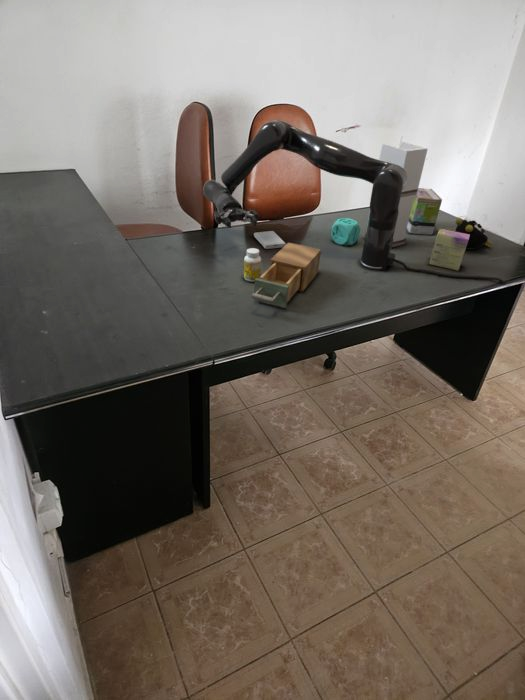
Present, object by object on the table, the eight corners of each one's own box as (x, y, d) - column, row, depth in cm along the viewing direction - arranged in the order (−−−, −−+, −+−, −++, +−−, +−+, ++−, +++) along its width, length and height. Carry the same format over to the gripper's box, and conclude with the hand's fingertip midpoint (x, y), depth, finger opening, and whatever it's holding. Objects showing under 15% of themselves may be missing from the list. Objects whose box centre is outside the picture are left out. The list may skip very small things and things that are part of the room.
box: (460, 265, 171) (470, 233, 164) (458, 271, 166) (468, 239, 159) (431, 258, 174) (439, 227, 167) (428, 264, 170) (437, 233, 163)
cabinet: (302, 292, 148) (305, 267, 143) (268, 283, 151) (270, 259, 146) (317, 272, 159) (321, 249, 155) (286, 265, 163) (288, 242, 158)
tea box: (433, 235, 194) (443, 199, 185) (408, 233, 193) (417, 197, 185) (423, 222, 206) (432, 187, 197) (400, 220, 206) (408, 186, 197)
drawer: (278, 316, 133) (279, 295, 129) (245, 308, 136) (246, 287, 132) (302, 287, 148) (304, 268, 144) (272, 280, 151) (273, 260, 147)
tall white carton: (404, 243, 184) (427, 148, 164) (385, 248, 179) (406, 151, 159) (383, 233, 192) (402, 141, 172) (364, 238, 187) (382, 143, 167)
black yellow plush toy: (484, 263, 182) (492, 234, 170) (446, 255, 188) (451, 226, 176) (494, 242, 187) (501, 213, 174) (456, 234, 193) (461, 205, 181)
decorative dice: (346, 247, 178) (350, 227, 174) (329, 241, 183) (332, 221, 178) (358, 242, 183) (361, 222, 179) (341, 236, 188) (344, 216, 183)
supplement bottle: (262, 280, 152) (264, 253, 147) (247, 283, 151) (248, 255, 145) (256, 273, 156) (257, 246, 151) (241, 275, 155) (242, 248, 149)
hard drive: (253, 232, 182) (265, 244, 172) (273, 230, 184) (286, 242, 175) (253, 236, 183) (265, 249, 173) (273, 234, 185) (285, 247, 176)
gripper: (247, 216, 171) (262, 233, 158) (209, 219, 166) (221, 236, 154) (248, 195, 166) (263, 211, 154) (208, 197, 162) (221, 214, 150)
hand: (242, 224), depth 154 cm, fingers open, 8 cm apart
